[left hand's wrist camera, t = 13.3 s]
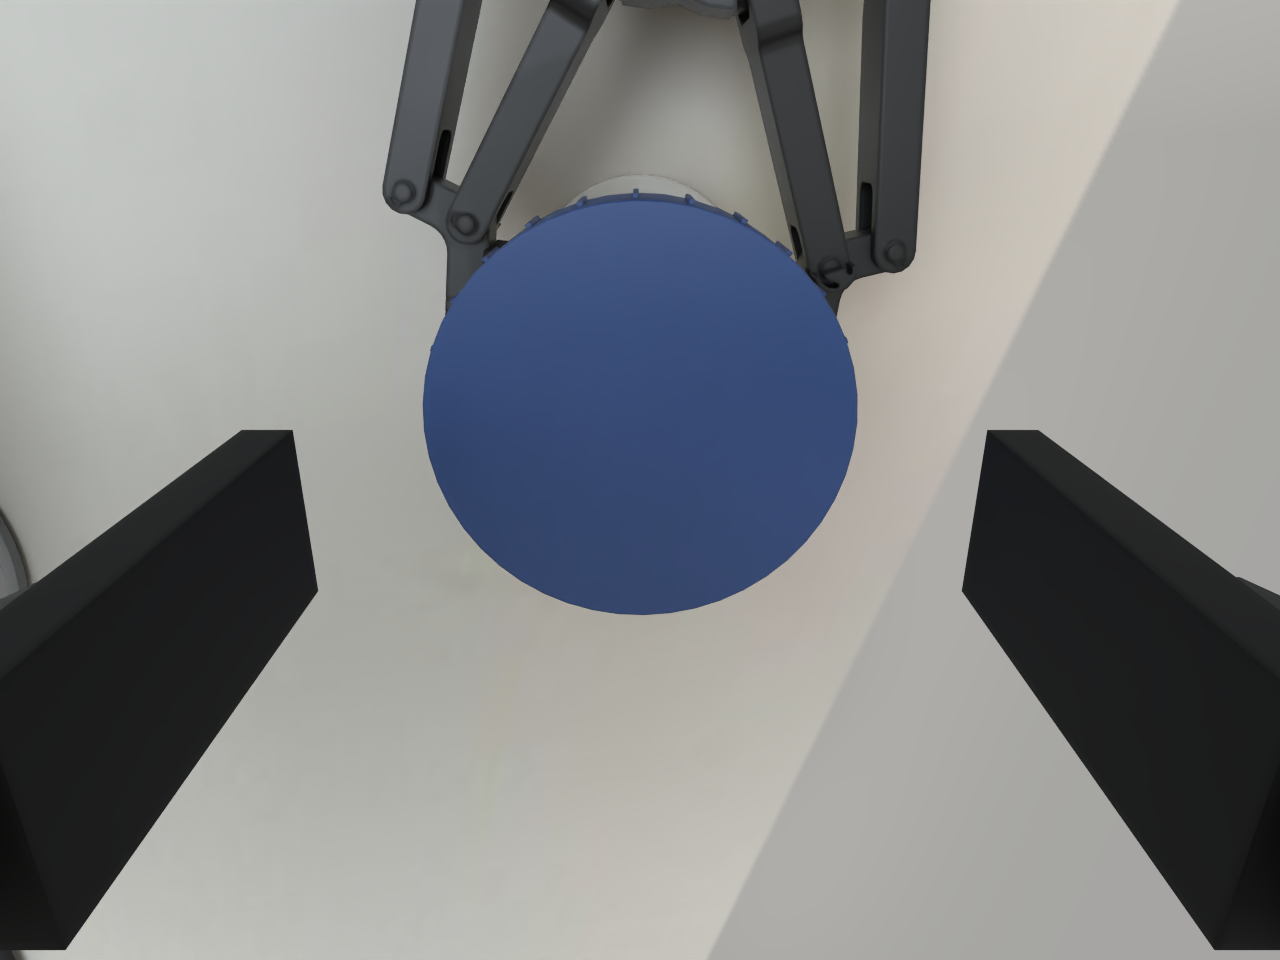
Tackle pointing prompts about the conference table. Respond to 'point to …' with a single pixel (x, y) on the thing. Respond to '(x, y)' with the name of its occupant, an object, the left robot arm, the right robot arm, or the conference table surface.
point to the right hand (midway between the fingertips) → (623, 460)
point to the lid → (640, 404)
